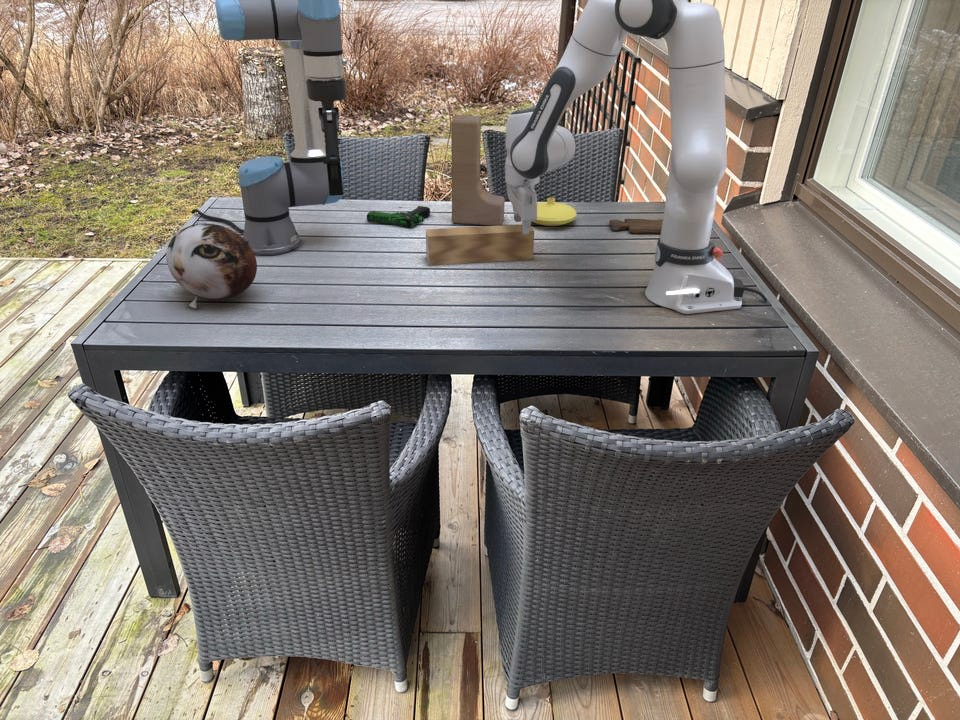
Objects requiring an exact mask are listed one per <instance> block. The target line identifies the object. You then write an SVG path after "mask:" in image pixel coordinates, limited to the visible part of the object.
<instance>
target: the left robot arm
mask: <svg viewBox="0 0 960 720" xmlns="http://www.w3.org/2000/svg"><path fill="white" fill-rule="evenodd" d="M214 6H215V13H216V20H217V24H218V25H217V26H218V31H219V36H220V38H221V39H222V40H225V41H235V42H242V41H261V40H275V43H276V44H277V45H278V46H279V47H280V48H281V49H282V53H283V62H284V68H285V76H286V77H285V78H286V85H287V93H288V101H289V108H290V116H291V125H292V132H293V140H294V141H293V142H294V149H293V150H292V151H291V153H290V154H289V155H290V161H287V162H285V161H284V160H283V158H282V157H281V156H278V155H267V156H266V155H265V156H260V157H255V158H252V159H250V160H247V161H245V162H243V163H242V164H241V165H240V166H239V168H238V170H237V174H238V186H239V187H240V194H241V201H242V207H243V212H244V213H243V215H244V219H245V220H244V226H243V228H244V229H242V228H240V227H238V226H237V225H236V224H235V223H234V222H232V221H231V220H228V219H225V218H222V217H217V216H212V215H209V214H205V213H204V212H202V211H201V210H199V209H197V208H194V209H192V210H191V212H190V214H192V215H193V214H196V213H197V212H198V213H197V214H198V215H199V216H201V217H202V218H205V219H207V220H211V221H216V222H222V223H225V224H228V225H230V226H231V227H232V228H233V229H235V230H236V231H237V232H239V233H241V234H243V235H242V237H243V238H244V239H245V240H246V241H249V242H248V244H249V245H250V247H251V248H252V250H253V252H254V254H255V256H256V255H257V256H275V255H281V254H282V255H283V254H285V253H289V252H291V251H293V250H296V249H297V248H298V247H299V246H300V244H301V241H300V235H299V233H298V231H297V229H296V227H295V225H294V223H293V220H292V218H291V216H290V208H295V207H307V206H308V207H309V206H318V205H322V206H325V205H329V204H336V203H338V202H339V201H340V200H341V198H342V196H344V171H343V162H342V160H341V157H340V148H339V147H340V146H339V145H340V144H341V138H339V136H338V132H340V123H339V120H340V111H339V107H338V106H335V102H340V101H343V100H345V99H346V98H347V86H346V85H347V84H346V80H345V78H343V77H344V76H345V66H344V65H347V64H348V60H347V59H346V58H344V50H343V38H342V37H343V36H342V23H341V21H342V20H341V12H342V9H341V6H340V0H215V1H214Z"/></svg>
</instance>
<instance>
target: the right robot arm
mask: <svg viewBox="0 0 960 720" xmlns="http://www.w3.org/2000/svg"><path fill="white" fill-rule="evenodd" d="M629 34H632V35H635V36H639V37H644V38H649V39H654V40H661V39H664V42H665V43H666V46H667V60H668V61H667V62H668V64H667V65H668V87H669V88H668V89H669V90H668V91H669V92H668V93H669V113H670V116H669V117H670V140H671V141H670V143H671V144H670V145H671V155H670V156H671V158H670V165H669V173H668V178H667V187H666V194H665V202H664V210H663V216H662V219H663V222H662V229H661V233H660V234H659V235H660V236H659V237H658V239H657V242H656V247H655V252H654V267H653V271H652V274H651V277H650V279H649V282H648V285H647V286H646V288H645V290H644V295H645V298H647V300H649V301H650V302H651V303H654V304H655V305H658V306H659V307H663V308H667V309H671V310H674V311H675V312H678V313H679V314H683V315H693V314H701V313H702V314H703V313H710V312H719V311H720V312H722V311H730V310H737V309H741V308H742V305H743V299H742V298H744V294H745V293H744V292H745V291H746V292H752V293H755V294H756V295H759V297H760V298H762V300H763V301H764V302H767V301H768V298H767V297H766V296H765V294H764V293H762V292H761V291H760V290H758V289H755V288H751V287H747V286H745V285H744V283H743V281H742V279H738V278H734V277H733V275H732V274H731V272H730V270H729V269H727V268H726V267H725V266H724V265H723V264H722V263H721V262H720V261H718V260H717V259H721V258H722V257H723V255H724V252H723V250H722V249H721V248H720V247H717V246H716V245H715V244H714V243H713V242H711V241H710V240H711V236H712V229H713V224H714V219H715V214H716V206H717V196H718V190H719V189H718V188H719V183H720V182H721V180H722V179H723V177H724V176H725V173H726V171H727V166H728V165H727V164H728V152H727V151H728V150H727V149H728V148H727V147H728V145H727V119H726V117H727V116H726V115H727V114H726V78H725V77H726V72H725V71H726V67H725V66H726V65H725V64H726V58H725V57H726V55H725V39H724V32H723V24H722V19H721V15H720V12H719V10H718V9H717V8H716V6H714V5H712V4H710V3H708V2H701V1H700V2H692V0H587V3H586V4H585V6H584V8H583V9H582V11H581V13H580V15H579V17H578V20H577V22H576V24H575V26H574V28H573V31H572V34H571V35H570V38H569V41H568V43H567V46H566V48H565V50H564V52H563V55H562V56H561V58H560V61H559V63H558V64H557V66H556V68H555V69H554V71H553V73H552V74H551V76H550V78H549V80H548V81H547V83H546V85H545V87H543V91H542V92H541V94H540V97H539V99H538V101H537V102H536V105H535V106H534V108H533V107H529V108H523V109H518V110H515V111H512V112H511V113H510V114H509V115H508V117H507V120H506V127H505V150H506V158H505V163H504V167H503V173H504V182H505V183H506V193H507V199H508V200H509V202H510V204H511V206H512V210H513V211H512V212H513V220H514V221H515V223H520V222H521V224H522V226H521V229H522V230H521V231H522V233H523V234H529V227H530V225H531V224H532V222H533V221H536V219H537V203H538V194H537V191H536V190H535V189H536V188H535V187H536V185H538V184H539V183H540V180H541V176H542V175H544V174H545V173H549V172H551V171H553V170H556V169H558V168H560V167H563V166H565V165H567V164H568V163H570V162H571V161H573V159H574V157H575V155H576V151H577V143H576V139H575V136H574V134H573V132H571V131H570V130H569V129H568V128H567V127H565V126H562V125H559V123H560V122H561V120H562V118H563V116H564V113H565V112H566V110H567V109H568V108H569V106H570V105H572V104H573V103H574V101H576V100H577V99H578V98H580V97H581V96H582V95H584V94H585V93H587V92H589V91H590V90H592V89H594V88H595V87H597V86H598V85H600V84H601V83H602V82H604V81H605V79H606V78H607V76H608V75H609V73H610V72H611V70H612V69H613V67H614V65H615V63H616V61H617V59H618V57H619V55H620V53H621V50H622V48H623V46H624V43H625V41H626V39H627V37H628V35H629Z"/></svg>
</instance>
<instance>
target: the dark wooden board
mask: <svg viewBox="0 0 960 720" xmlns="http://www.w3.org/2000/svg"><path fill="white" fill-rule="evenodd" d="M608 222H609V226H610V229H611V231H614V232H615V231H616V232H618V231H619V232H620V231H624V230H628V232H629V233H630V234H642V233H643V234H644V233H654V234H655V233H658V234H659V233H660V234H661V229H662V222H663V218H662V219H647V218H624V220H620V219H610V220H609V221H608Z"/></svg>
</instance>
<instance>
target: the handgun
mask: <svg viewBox="0 0 960 720" xmlns="http://www.w3.org/2000/svg"><path fill="white" fill-rule="evenodd" d="M430 214H431V209H430V207H428V206H424V205H423V206H422V205H417V206H416V208H414V209H412V210H411V211H407V212H403V211H400V212H399V211H397V212H392V213H391V212H382V211H377V210H371V211H369V212H368V213H367V214H366V221H367V222H372V223H380V224H390V225H396V226H401V227H403V228H404V227H405V228H411V229H412V228H413V227H415V226H418V224H421V223H423V222H424V220H425V218H427V217H429V216H430Z"/></svg>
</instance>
